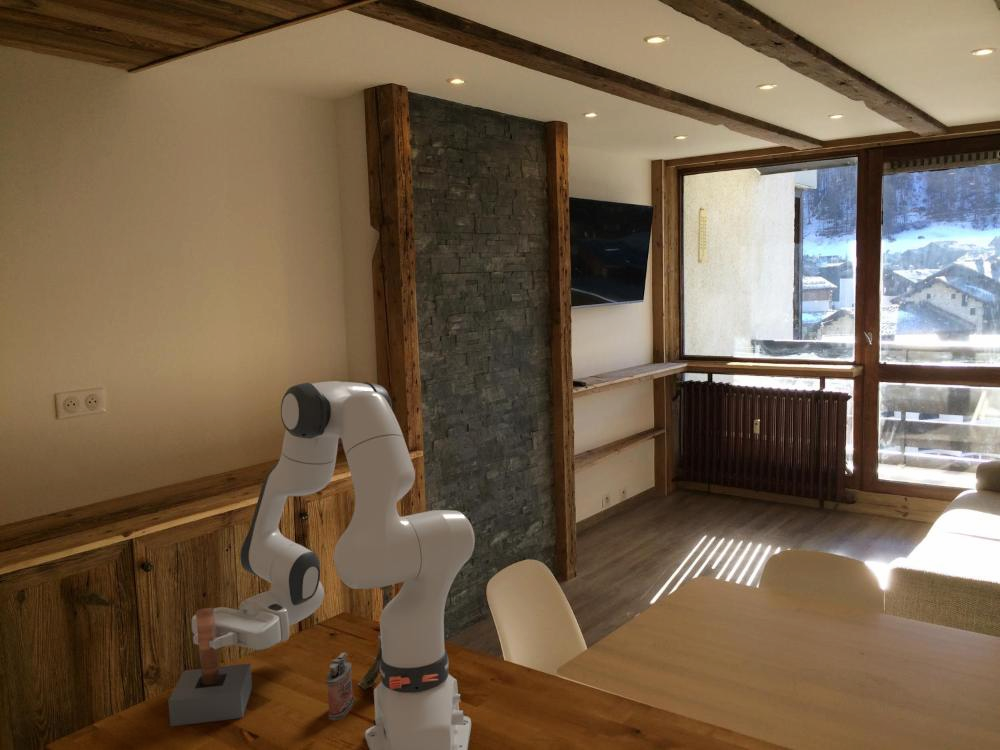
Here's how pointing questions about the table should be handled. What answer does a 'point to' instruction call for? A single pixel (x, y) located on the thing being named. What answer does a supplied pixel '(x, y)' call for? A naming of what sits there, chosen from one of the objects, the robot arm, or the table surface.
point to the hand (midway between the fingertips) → (203, 642)
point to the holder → (210, 696)
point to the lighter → (339, 688)
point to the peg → (207, 646)
